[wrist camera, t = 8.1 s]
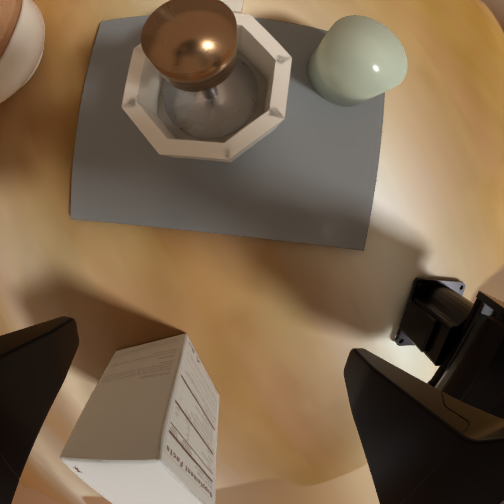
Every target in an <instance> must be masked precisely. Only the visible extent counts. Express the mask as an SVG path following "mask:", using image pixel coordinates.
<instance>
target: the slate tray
mask: <svg viewBox="0 0 504 504" xmlns="http://www.w3.org/2000/svg"><path fill="white" fill-rule="evenodd" d="M149 16H150V15H149ZM149 16H137V17H128V18H120V19H113V20H106V21H101V24H100V27H99V30H98V33H97V37H96V40H95V43H94V47H93V51H92V54H91V58H90V62H89V66H88V70H87V75H86V79H85V84H84V89H83V94H82V99H81V104H80V110H79V116H78V123H77V130H76V138H75V147H74V156H73V168H72V184H71V219H75V220H86V221H97V222H108V223H119V224H129V225H139V226H150V227H160V228H169V229H179V230H189V231H198V232H208V233H217V234H226V235H235V236H244V237H253V238H262V239H271V240H280V241H288V242H297V243H305V244H314V245H322V246H330V247H338V248H346V249H354V250H362V251H364V246H365V241H366V236H367V231H368V226H369V221H370V215H371V209H372V203H373V197H374V191H375V184H376V177H377V170H378V162H379V154H380V145H381V136H382V125H383V113H384V98H385V92H384V93H381V94H379V95H377V96H375V97H373V98H371V99H369V100H367V101H365V102H363V103H361V104H358V105H355V106H349V107H347V106H339V105H336V104H333V103H331V102H329V101H327V100H326V99H324V98H323V97H322V96H320V95H319V94H318V93H317V91H316V90H315V89H314V88H313V86H312V84H311V82H310V80H309V76H308V71H307V69H308V62H309V59H310V57H311V55H312V54H313V52H314V51H315V50H316V48H317V47H318V45H319V44H320V42H321V41H322V39H323V38H324V37H325V35H326V34H327V32H328V31H325V30H321V29H317V28H313V27H308V26H303V25H298V24H293V23H287V22H282V21H275V20H269V19H261V18H254V19H255V20H256V21H257V22H258V23H259V24H260V25H262V26H263V27H264V28H265V29H266V30H267V32H268V33H269V34H270V35H271V36H272V37H273V38H274V39H275V40H276V41H277V42H278V43H279V44H280V45H281V46H282V47H283V48H284V49H285V50H286V52H287V53H288V54H289V55H290V56H291V57H292V62H291V70H290V79H289V87H288V95H287V104H286V112H285V119H284V120H283V121H282V122H281V123H280V124H279V125H278V126H277V128H276V129H275V130H273V131H272V132H271V133H269V134H268V135H266V136H265V137H264V138H262V139H261V140H260V141H258V142H257V143H256V144H255V145H253V146H252V147H251V148H249V149H248V150H246V151H245V152H244V153H242V154H241V155H240V156H238V157H237V158H236V159H234V160H233V161H232V162H231V163H230V162H222V161H212V160H200V159H188V158H175V157H170V156H165V155H159V153H158V152H157V151H156V150H155V148H154V147H153V146H152V145H151V143H150V142H149V141H148V140H147V138H146V137H145V136H144V135H143V134H142V132H141V131H140V130H139V129H138V127H137V126H136V125H135V124H134V122H133V121H132V120H131V119H130V117H129V116H128V115H127V114H126V112H125V111H124V110H123V109H122V101H123V96H124V90H125V85H126V80H127V75H128V71H129V66H130V62H131V57H132V53H133V49H134V48H135V47H136V46H138V45H139V44H140V43H141V32H142V29H143V26H144V24H145V22H146V20H147V19H148V18H149Z"/></svg>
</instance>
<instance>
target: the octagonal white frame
mask: <svg viewBox="0 0 504 504" xmlns="http://www.w3.org/2000/svg"><path fill="white" fill-rule="evenodd" d="M220 1H222V2H224V3H225V4H226V5H227V6H228V7H229V8H230V9H231V10H232V12H233V13H234V15H235V18H236V22H237V58H239V59H241V60H242V61H244V62H245V63H246V64H247V65H248V66H249V67H250V69H251V70H252V71H253V73H254V75H255V77H256V79H257V83H258V88H259V96H258V102H257V106H256V108H255V111H254V113H253V115H252V116H251V118H250V119H249V120H248V122H247V123H246V124H245V125H244V126H242V127H241V128H240V129H239V130H237V131H236V132H234V133H232V134H230V135H227V136H224V137H220V138H215V139H203V138H197V137H194V136H191V135H189V134H186V133H185V132H183V131H182V130H180V129H179V128H178V127H176V126H175V125H174V124H173V122H172V121H171V120H170V118H169V117H168V115H167V113H166V110H165V107H164V100H163V95H164V88H165V85H166V82H167V81H166V79H165V78H164V77H163V76H162V75H161V73H160V72H159V71H158V70H157V69H156V67H155V66H154V65H153V64H152V63H151V61H150V60H149V59H148V58H147V56H146V55H145V54H144V52H143V50H142V46H141V43H140V44H139V45H138V46H136V47H135V48H134V49H133V53H132V57H131V62H130V66H129V71H128V75H127V80H126V85H125V90H124V96H123V101H122V109H123V110H124V111H125V112H126V114H127V115H128V116H129V117H130V119H131V120H132V121H133V122H134V124H135V125H136V126H137V127H138V129H139V130H140V131H141V132H142V134H143V135H144V136H145V137H146V138H147V140H148V141H149V142H150V143H151V145H152V146H153V147H154V148H155V150H156V151H157V152H158V153H159V155H165V156H170V157H175V158H188V159H200V160H212V161H222V162H230V163H231V162H232V161H233V160H234V159H236V158H237V157H238V156H240V155H241V154H242V153H244V152H245V151H246V150H248V149H249V148H251V147H252V146H253V145H255V144H256V143H257V142H258V141H260V140H261V139H262V138H264V137H265V136H266V135H268V134H269V133H271V132H272V131H273V130H275V129H276V128H277V126H278V125H279V124H280V123H281V122H282V121H283V120H284V119H285V112H286V104H287V95H288V87H289V79H290V70H291V62H292V57H291V56H290V55H289V54H288V53H287V52H286V50H285V49H284V48H283V47H282V46H281V45H280V44H279V43H278V42H277V41H276V40H275V39H274V38H273V37H272V36H271V35H270V34H269V33H268V32H267V30H266V29H265V28H264V27H263V26H262V25H260V24H259V23H258V22H257V21H256V20H255V19H254V18H253V17H252V16H251V15H249V14H243V0H220Z"/></svg>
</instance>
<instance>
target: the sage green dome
mask: <svg viewBox="0 0 504 504" xmlns="http://www.w3.org/2000/svg"><path fill="white" fill-rule="evenodd" d="M307 71H308V76H309V80H310V82H311V84H312V86H313V88H314V89H315V90H316V91H317V93H318V94H319V95H320V96H322V97H323V98H324V99H326V100H327V101H329V102H331V103H333V104H336V105H339V106H347V107H349V106H355V105H358V104H361V103H363V102H365V101H367V100H369V99H371V98H373V97H375V96H377V95H379V94H381V93H384V92H386V91H388V90H390V89H392V88H394V87H396V86H398V85H399V84H400V83H401V82H402V81H403V79H404V77H405V75H406V72H407V57H406V53H405V50H404V48H403V46H402V44H401V43H400V41H399V40H398V38H397V37H396V36H395V35H394V33H393V32H392V31H391V30H390V29H388V28H387V27H386V26H384V25H383V24H381V23H380V22H378V21H376V20H374V19H371V18H368V17H365V16H357V15H353V16H346V17H343V18H341V19H339V20H338V21H336V22H335V23H334V24H333V25H332V27H331V28H330V30H329V31H328V32H327V34H326V35H325V37H324V38H323V39H322V41H321V42H320V44H319V45H318V47H317V48H316V50H315V51H314V52H313V54H312V55H311V57H310V59H309V62H308V69H307Z"/></svg>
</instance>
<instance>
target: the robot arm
mask: <svg viewBox="0 0 504 504" xmlns="http://www.w3.org/2000/svg"><path fill="white" fill-rule="evenodd" d="M419 282H420V284H419V285H418V283H419ZM460 286H461V287H460ZM464 289H465V284H464V283H463V282H462V281H454V280H443V279H432V278H421V277H418V278H416V279H415V280H414V283H413V286H412V290H411V293H410V296H409V300H408V303H407V306H406V309H405V312H404V315H403V318H402V321H401V324H400V327H399V330H398V333H397V336H396V338H395V342H396V344H397V345H399V346H405V345H416V347H417V348H418V349H419V350H420V351H421V352H424V353H425V355H426V356H427V357H428V358H429V359H430V360H431V361H432V362H433V364H434V365H435V366H439V368H438V370H437V371H436V373H435V374H434V376H433V377H432V379H431V380H430V381H428V383H425V382H423V381H421V380H420V379H418V378H416V377H414V376H412V375H410V374H409V373H407V372H405V371H403V370H401V369H400V368H398V367H396V366H394V365H392V364H391V363H389V362H387V361H385V360H383V359H382V358H380V357H378V356H376V355H374V354H373V353H371V352H369V351H367V350H366V349H363V348H354V349H352V350H351V351H350V353H349V356H348V359H347V362H346V365H345V368H344V378H345V383H346V388H347V393H348V397H349V402H350V407H351V411H352V415H353V418H354V421H355V424H356V427H357V430H358V433H359V436H360V440H361V443H362V446H363V449H364V452H365V455H366V459H367V462H368V465H369V468H370V472H371V475H372V478H373V481H374V485H375V488H376V492H377V495H378V499H379V502H380V504H504V302H502V301H500V300H498V299H496V298H494V297H492V296H490V295H487V294H485V293H483V292H481V291H479V292H478V294H477V296H476V297H477V299H476V301H475V303H474V304H473V303H472V302H470V301H469V300H467V299H466V298H464V297H463V296H462V295H463V292H464ZM78 345H79V337H78V332H77V325H76V321H75V319H74V318H71V317H66V316H62V317H59V318H56V319H53V320H50V321H46V322H43V323H40V324H37V325H34V326H30V327H27V328H24V329H21V330H18V331H14V332H11V333H8V334H5V335H1V336H0V504H11V503H12V500H13V497H14V494H15V491H16V488H17V485H18V483H19V478H20V477H21V474H22V472H23V469H24V466H25V464H26V461H27V459H28V457H29V454H30V452H31V449H32V447H33V445H34V442H35V440H36V438H37V436H38V433H39V431H40V429H41V427H42V425H43V422H44V420H45V418H46V416H47V414H48V412H49V410H50V408H51V406H52V404H53V402H54V400H55V398H56V396H57V394H58V392H59V390H60V388H61V386H62V384H63V382H64V380H65V378H66V375H67V373H68V370H69V368H70V365H71V363H72V360H73V358H74V355H75V353H76V351H77V348H78Z"/></svg>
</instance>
